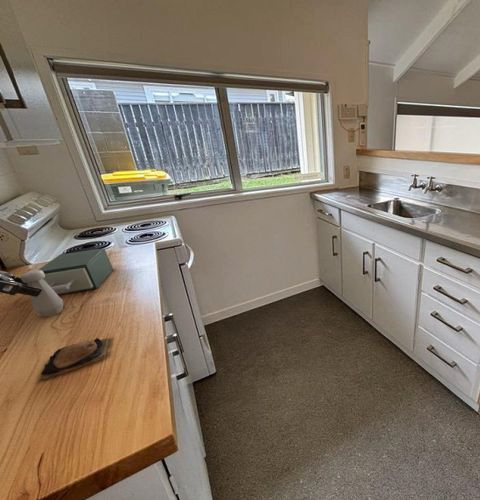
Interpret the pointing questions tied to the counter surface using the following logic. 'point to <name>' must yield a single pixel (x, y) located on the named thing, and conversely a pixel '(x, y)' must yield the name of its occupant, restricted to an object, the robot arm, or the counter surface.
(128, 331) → the counter surface
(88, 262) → the cabinet
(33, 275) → the salt shaker
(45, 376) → the brown and black piece
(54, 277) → the drawer
